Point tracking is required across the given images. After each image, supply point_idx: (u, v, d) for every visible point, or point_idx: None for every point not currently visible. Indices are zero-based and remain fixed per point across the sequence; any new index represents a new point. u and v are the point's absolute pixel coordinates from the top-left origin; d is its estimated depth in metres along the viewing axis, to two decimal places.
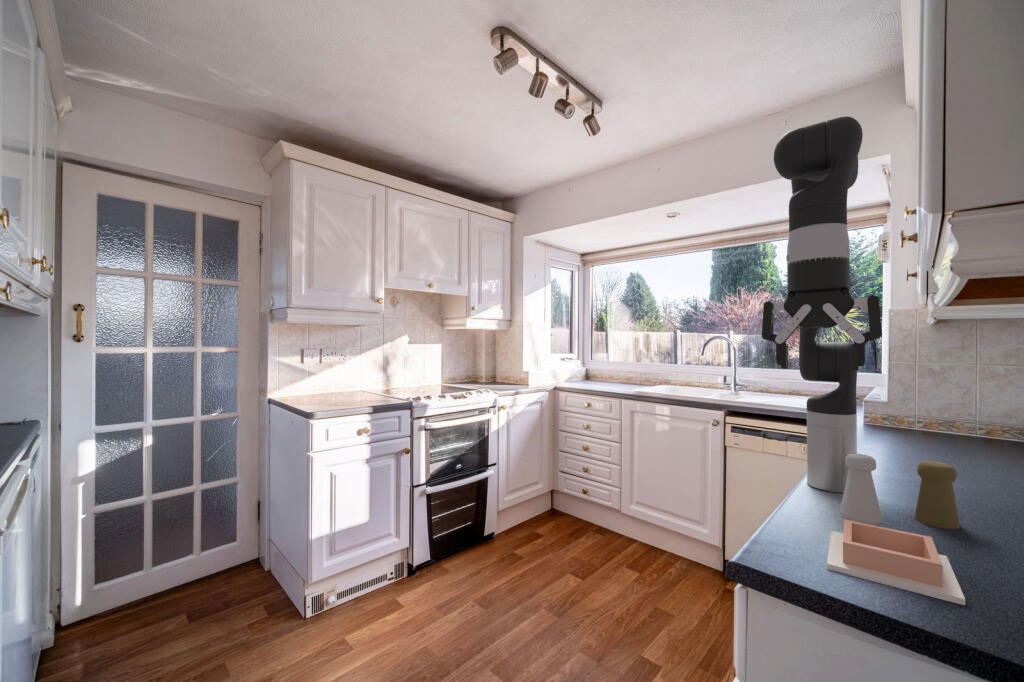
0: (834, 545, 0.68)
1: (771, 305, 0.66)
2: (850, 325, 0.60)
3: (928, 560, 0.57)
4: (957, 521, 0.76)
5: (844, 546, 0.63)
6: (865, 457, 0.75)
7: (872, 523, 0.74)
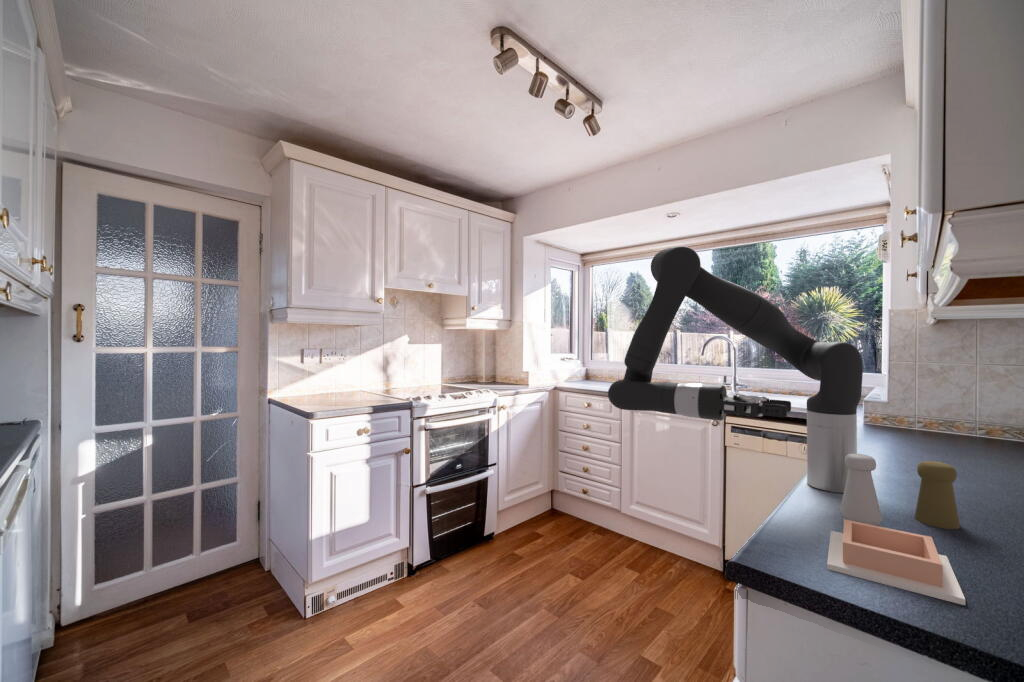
0: (834, 545, 0.68)
1: None
2: None
3: (928, 560, 0.57)
4: (957, 521, 0.76)
5: (844, 546, 0.63)
6: (865, 457, 0.75)
7: (872, 523, 0.74)
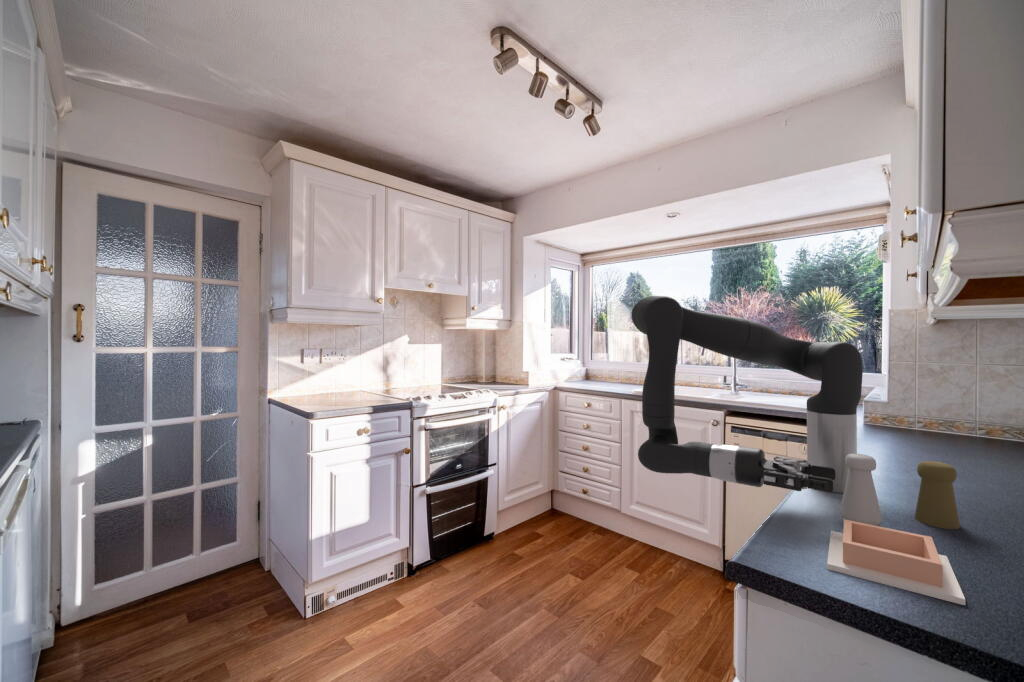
0: (834, 545, 0.68)
1: None
2: None
3: (928, 560, 0.57)
4: (957, 521, 0.76)
5: (844, 546, 0.63)
6: (865, 457, 0.75)
7: (872, 523, 0.74)
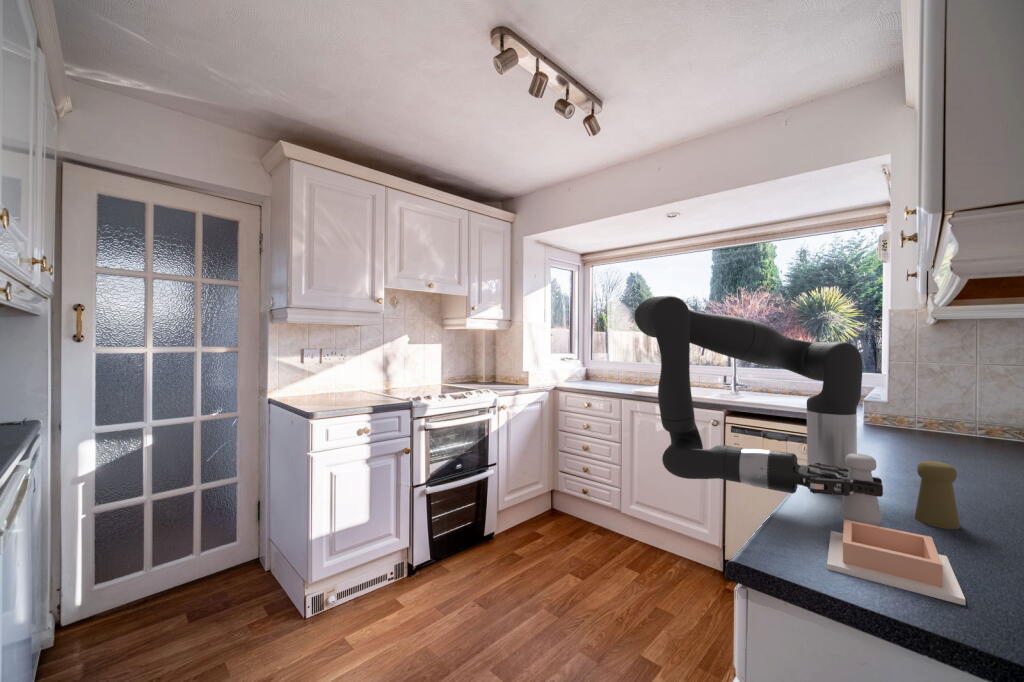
0: (834, 545, 0.68)
1: None
2: None
3: (928, 560, 0.57)
4: (957, 521, 0.76)
5: (844, 546, 0.63)
6: (865, 457, 0.75)
7: (872, 523, 0.74)
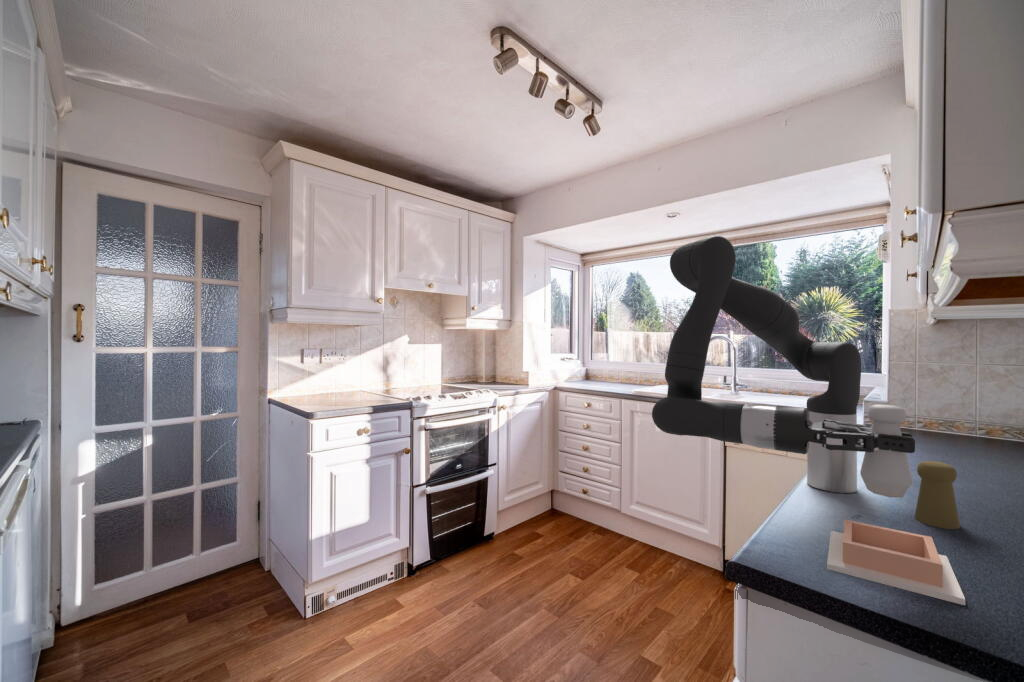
0: (834, 545, 0.68)
1: None
2: None
3: (928, 560, 0.57)
4: (957, 521, 0.76)
5: (844, 546, 0.63)
6: (893, 407, 0.62)
7: (901, 485, 0.61)
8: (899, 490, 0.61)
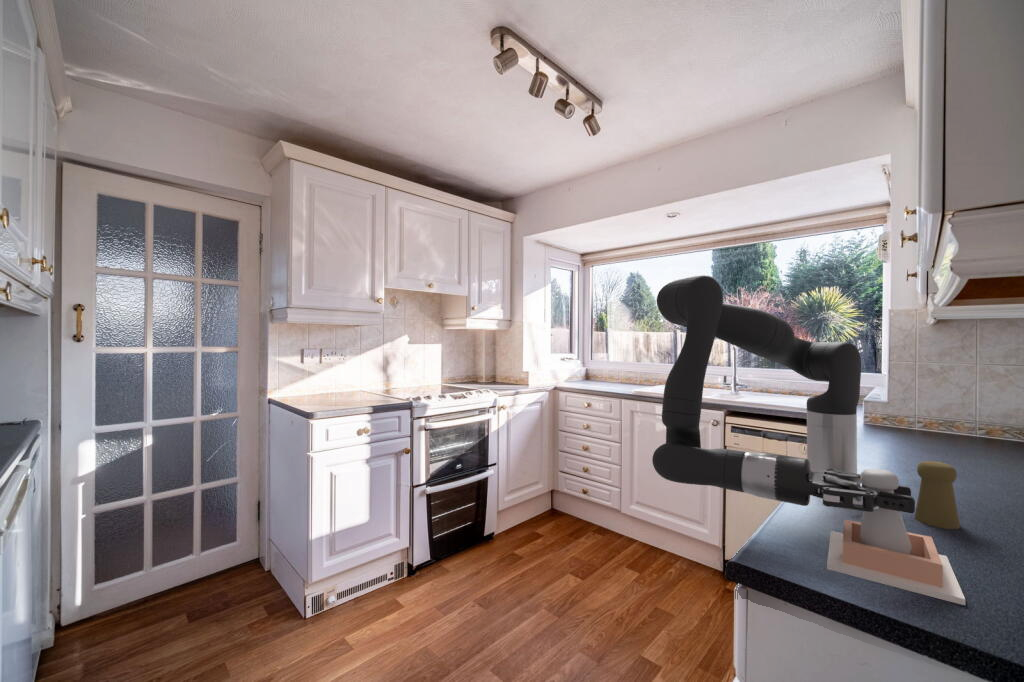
0: (834, 545, 0.68)
1: None
2: None
3: (928, 560, 0.57)
4: (957, 521, 0.76)
5: (844, 546, 0.63)
6: (884, 473, 0.63)
7: None
8: None
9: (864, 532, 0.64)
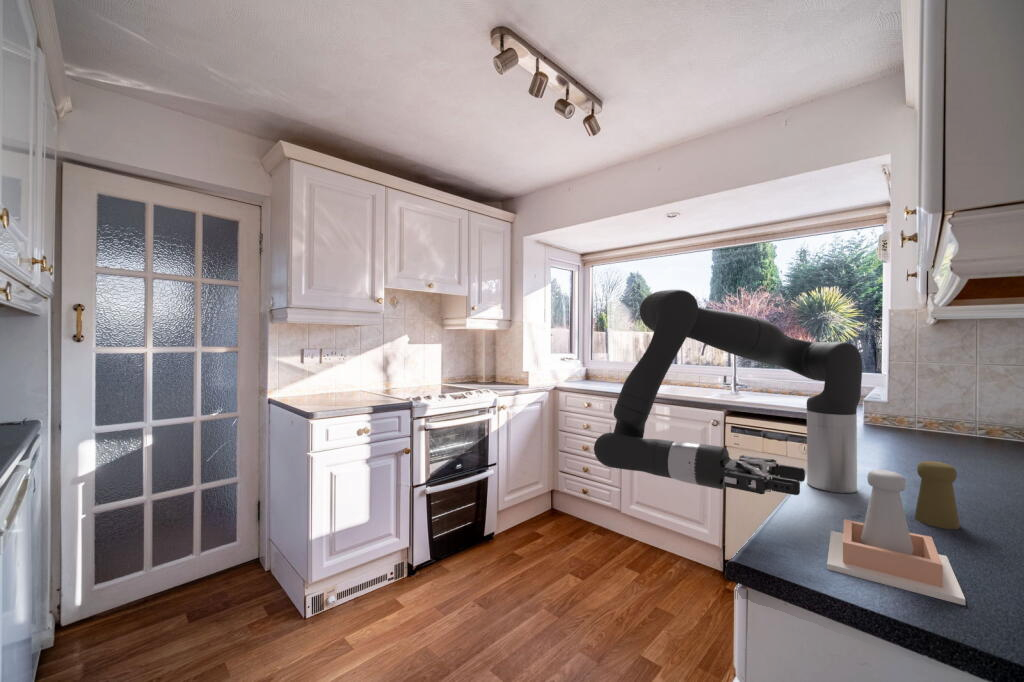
0: (834, 545, 0.68)
1: None
2: None
3: (928, 560, 0.57)
4: (957, 521, 0.76)
5: (844, 546, 0.63)
6: (892, 475, 0.63)
7: None
8: None
9: (866, 532, 0.64)
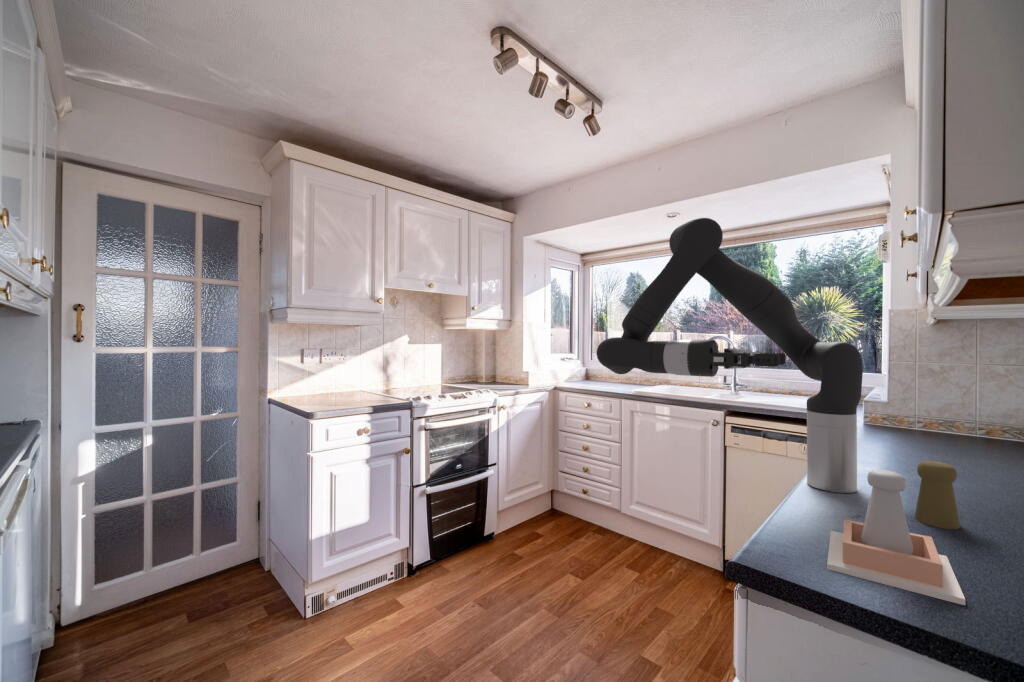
0: (834, 545, 0.68)
1: None
2: None
3: (928, 560, 0.57)
4: (957, 521, 0.76)
5: (844, 546, 0.63)
6: (892, 475, 0.63)
7: None
8: None
9: (866, 532, 0.64)
